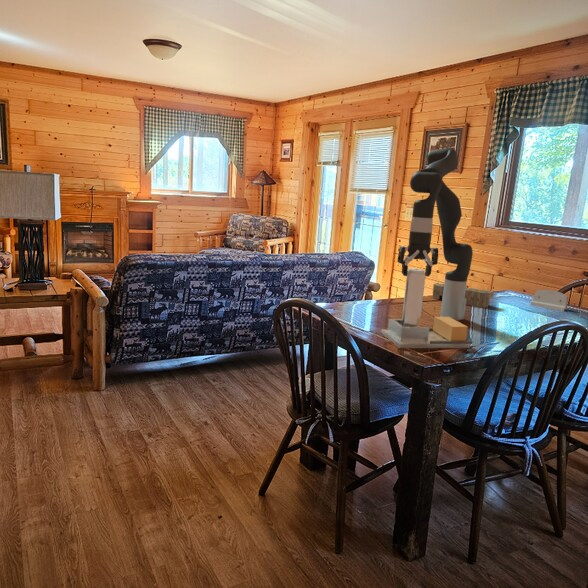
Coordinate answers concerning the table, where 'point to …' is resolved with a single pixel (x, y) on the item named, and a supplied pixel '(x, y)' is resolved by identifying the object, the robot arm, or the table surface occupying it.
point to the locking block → (450, 329)
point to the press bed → (418, 337)
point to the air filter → (413, 297)
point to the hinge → (550, 300)
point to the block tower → (467, 295)
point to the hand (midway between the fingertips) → (415, 275)
